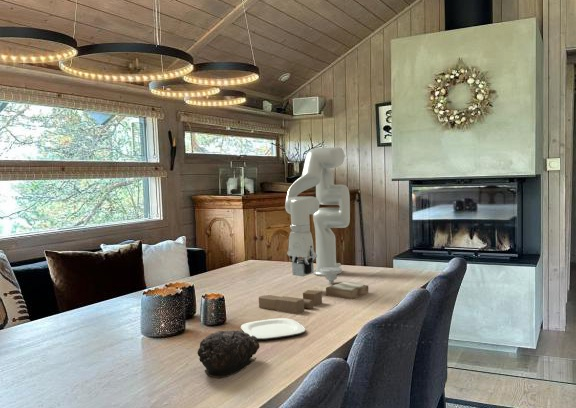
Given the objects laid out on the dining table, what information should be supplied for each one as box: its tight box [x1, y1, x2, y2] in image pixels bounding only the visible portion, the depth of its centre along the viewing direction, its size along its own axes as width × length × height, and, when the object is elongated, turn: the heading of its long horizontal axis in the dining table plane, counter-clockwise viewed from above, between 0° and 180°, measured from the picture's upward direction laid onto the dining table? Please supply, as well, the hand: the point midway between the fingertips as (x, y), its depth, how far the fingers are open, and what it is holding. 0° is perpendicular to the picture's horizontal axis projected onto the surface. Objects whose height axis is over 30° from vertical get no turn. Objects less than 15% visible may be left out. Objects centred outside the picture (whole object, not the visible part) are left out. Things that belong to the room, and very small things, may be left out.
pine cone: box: [196, 330, 260, 378], centre depth 129 cm, size 10×18×10 cm, turn 152°
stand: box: [325, 281, 369, 300], centre depth 203 cm, size 12×12×3 cm
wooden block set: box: [258, 289, 323, 315], centre depth 188 cm, size 17×6×18 cm
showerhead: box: [320, 267, 343, 285], centre depth 224 cm, size 9×7×10 cm
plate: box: [240, 317, 306, 340], centre depth 158 cm, size 18×18×2 cm
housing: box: [291, 258, 315, 277], centre depth 211 cm, size 7×6×6 cm
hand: (302, 272), depth 211 cm, fingers closed on housing, 5 cm apart
